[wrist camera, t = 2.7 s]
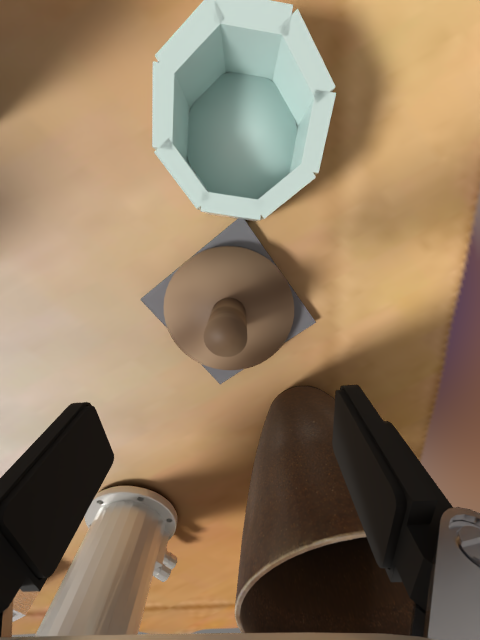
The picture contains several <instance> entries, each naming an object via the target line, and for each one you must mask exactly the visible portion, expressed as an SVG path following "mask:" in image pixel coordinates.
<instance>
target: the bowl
mask: <svg viewBox="0 0 480 640" xmlns="http://www.w3.org/2000/svg"><path fill="white" fill-rule="evenodd" d="M292 9H293V5H292V4H286V3H281V2H276V1H270V0H216V1H215V0H204V1H203V2H202V3H201V4H200V5H199V6H198V8H197V9H196V10H195V11H194V12H193V13H192V14H191V15H190V17H189V18H188V19H187V20H186V21H185V22H184V23H183V24H182V25H181V27H180V28H179V29H178V30H177V31H176V32H175V33H174V34H173V36H172V37H171V38H170V39H169V40H168V41H167V42H166V43H165V45H164V46H163V47H162V48H161V49H160V50H159V51H158V52H157V54H156V55H155V57H156V59H157V61H158V62H153V125H152V147H153V148H154V149H155V150H156V151H155V152H154V153H155V154H156V155H157V157H158V158H159V159H160V161H161V162H162V163H163V165H164V166H165V167H166V169H167V170H168V171H169V173H170V174H171V175H172V177H173V178H174V179H175V181H176V182H177V183H178V185H179V186H180V187H181V189H182V190H183V191H184V192H185V194H186V195H187V196H188V198H189V199H190V200H191V202H192V203H193V204H194V206H195V207H196V208H197V209H198V210H201V212H204V213H207V214H210V215H217V216H224V217H230V218H237V219H244V220H251V221H259V220H262V219H265V218H266V217H267V216H268V215H270V214H271V213H272V212H273V211H275V210H276V209H277V208H278V207H280V206H281V205H282V204H283V203H285V202H286V201H287V200H288V199H290V198H291V197H292V196H293V195H295V194H296V193H297V192H298V191H300V190H301V189H302V188H303V187H305V186H306V185H307V184H308V183H310V182H311V181H312V180H313V179H315V178H316V177H315V175H316V174H318V173H319V169H320V165H321V160H322V156H323V151H324V146H325V142H326V137H327V133H328V128H329V124H330V119H331V115H332V110H333V105H334V101H335V96H336V93H334V92H332V91H333V90H334V88H335V87H336V86H335V84H334V82H333V80H332V78H331V76H330V74H329V72H328V70H327V68H326V66H325V64H324V62H323V60H322V58H321V56H320V54H319V51H318V49H317V47H316V45H315V43H314V41H313V39H312V37H311V35H310V33H309V31H308V29H307V27H306V25H305V23H304V21H303V19H302V17H301V14H300V12H299V10H298V9H297V10H296V11H295V12H294V13H293V14H292ZM189 163H190V164H189Z"/></svg>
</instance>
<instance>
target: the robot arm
mask: <svg viewBox="0 0 480 640" xmlns="http://www.w3.org/2000/svg"><path fill="white" fill-rule="evenodd" d="M332 446H333V451H334V454H335V457H336V459H337V462H338V464H339V467H340V470H341V472H342V475H343V477H344V480H345V483H346V485H347V488H348V490H349V493H350V495H351V498H352V501H353V503H354V506H355V508H356V511H357V514H358V516H359V519H360V521H361V524H362V527H363V529H364V532H365V534H366V537H367V539H368V542H369V545H370V547H371V550H372V552H373V555H374V558H375V560H376V562H377V564H378V566H379V567H380V568H385V570H386V572H387V575H388V577H389V580H390V582H403V584H404V586H405V588H406V591H407V593H408V595H409V598H410V599H411V600H413V601H414V605H413V611H412V618H411V624H410V631H409V636H405V635H393V634H378V633H221V634H220V633H211V634H145V635H138V631H139V627H140V623H141V619H142V615H143V611H144V607H145V604H146V600H147V596H148V592H149V588H150V584H151V580H152V576H154V577H156V578H157V579H159V580H161V581H162V582H164V581H166V580H167V579H168V577H169V575H170V573H171V569H173V568H174V567H175V565H176V563H177V557H176V556H175V555H173V554H172V553H169V552H168V551H167V548H166V547H167V543H168V540H169V539H170V538H171V537H172V536H173V535H174V533H175V530H176V526H177V513H176V511H175V509H174V507H173V506H172V504H171V503H170V502H169V501H168V500H167V499H165V498H164V497H163V496H161V495H159V494H158V493H156V492H154V491H151V490H149V489H145V488H141V487H136V486H116V487H111V488H108V489H105V490H102V491H101V492H99V493H97V492H98V490H99V488H100V486H101V484H102V483H103V481H104V479H105V477H106V475H107V473H108V471H109V470H110V468H111V466H112V464H113V461H114V454H113V451H112V449H111V446H110V444H109V441H108V439H107V436H106V434H105V431H104V429H103V426H102V424H101V421H100V419H99V416H98V414H97V411H96V409H95V407H94V406H92V405H91V404H90V403H88V402H84V403H73V404H71V405H69V406H68V407H67V408H66V409H65V410H64V411H63V412H62V414H61V415H60V416H59V417H58V418H57V419H56V420H55V421H54V422H53V423H52V424H51V425H50V426H49V427H48V428H47V429H46V430H45V432H44V433H43V434H42V435H41V436H40V437H39V438H38V439H37V440H36V441H35V442H34V443H33V444H32V445H31V446H30V447H29V448H28V450H27V451H26V452H25V453H24V454H23V455H22V456H21V457H20V458H19V459H18V460H17V461H16V462H15V463H14V464H13V465H12V466H11V468H10V469H9V470H8V471H7V472H6V473H5V474H4V475H3V476H2V477H1V478H0V640H480V513H477V512H475V511H472V510H470V509H465V508H459V507H456V508H453V507H452V505H451V504H450V503H449V501H448V500H447V499H446V497H445V496H444V494H443V493H442V492H441V490H440V489H439V488H438V486H437V485H436V483H435V482H434V481H433V479H432V478H431V477H430V475H429V474H428V472H427V471H426V470H425V468H424V467H423V466H422V464H421V463H420V461H419V460H418V459H417V457H416V456H415V455H414V453H413V452H412V450H411V449H410V448H409V446H408V445H407V444H406V442H405V441H404V439H403V438H402V437H401V435H400V434H399V433H398V431H397V430H396V428H395V427H394V426H393V425H392V424H391V423H390V422H388V421H383V420H382V418H381V417H380V415H379V414H378V413H377V411H376V410H375V408H374V407H373V405H372V404H371V403H370V401H369V400H368V398H367V397H366V395H365V394H364V392H363V391H362V390H361V388H360V387H359V386H358V385H346V386H341V388H340V390H336V393H335V408H334V422H333V437H332ZM84 516H85V522H86V524H87V526H88V528H89V530H88V532H87V534H86V536H85V538H84V539H83V541H82V543H81V545H80V547H79V549H78V551H77V553H76V555H75V557H74V559H73V561H72V563H71V565H70V567H69V569H68V571H67V573H66V575H65V577H64V579H63V581H62V583H61V585H60V587H59V589H58V591H57V593H56V595H55V597H54V599H53V601H52V603H51V605H50V607H49V609H48V611H47V613H46V615H45V617H44V619H43V621H42V623H41V625H40V627H39V629H38V631H37V633H36V635H35V637H12V618H13V599H14V597H15V596H16V594H17V592H18V591H19V589H21V591H22V592H32V591H40V590H41V588H42V587H43V585H44V583H45V581H46V579H47V578H48V577H49V576H51V575H52V574H53V572H54V571H55V569H56V568H57V566H58V564H59V562H60V560H61V559H62V557H63V555H64V553H65V551H66V549H67V547H68V546H69V544H70V542H71V540H72V538H73V536H74V534H75V533H76V531H77V529H78V527H79V525H80V523H81V521H82V520H83V518H84Z"/></svg>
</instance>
